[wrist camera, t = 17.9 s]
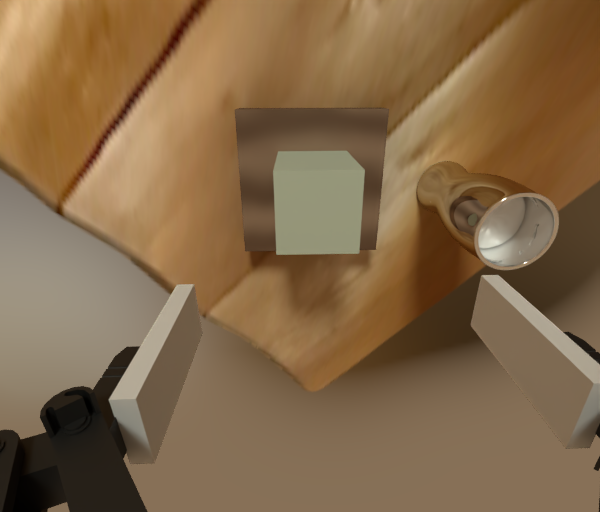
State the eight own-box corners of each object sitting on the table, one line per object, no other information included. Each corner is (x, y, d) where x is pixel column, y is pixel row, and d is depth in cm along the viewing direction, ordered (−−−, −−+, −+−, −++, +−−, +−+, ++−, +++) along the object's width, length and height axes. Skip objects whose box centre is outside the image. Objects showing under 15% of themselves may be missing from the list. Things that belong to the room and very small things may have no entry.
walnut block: (240, 108, 38) (234, 109, 34) (379, 107, 38) (388, 108, 35) (249, 238, 44) (245, 251, 41) (368, 237, 44) (375, 249, 41)
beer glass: (435, 146, 39) (511, 173, 26) (484, 173, 41) (581, 213, 27) (401, 200, 42) (454, 252, 28) (448, 224, 43) (521, 285, 30)
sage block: (278, 151, 36) (273, 171, 27) (346, 150, 36) (364, 170, 27) (280, 217, 39) (276, 254, 30) (343, 216, 39) (359, 253, 30)
